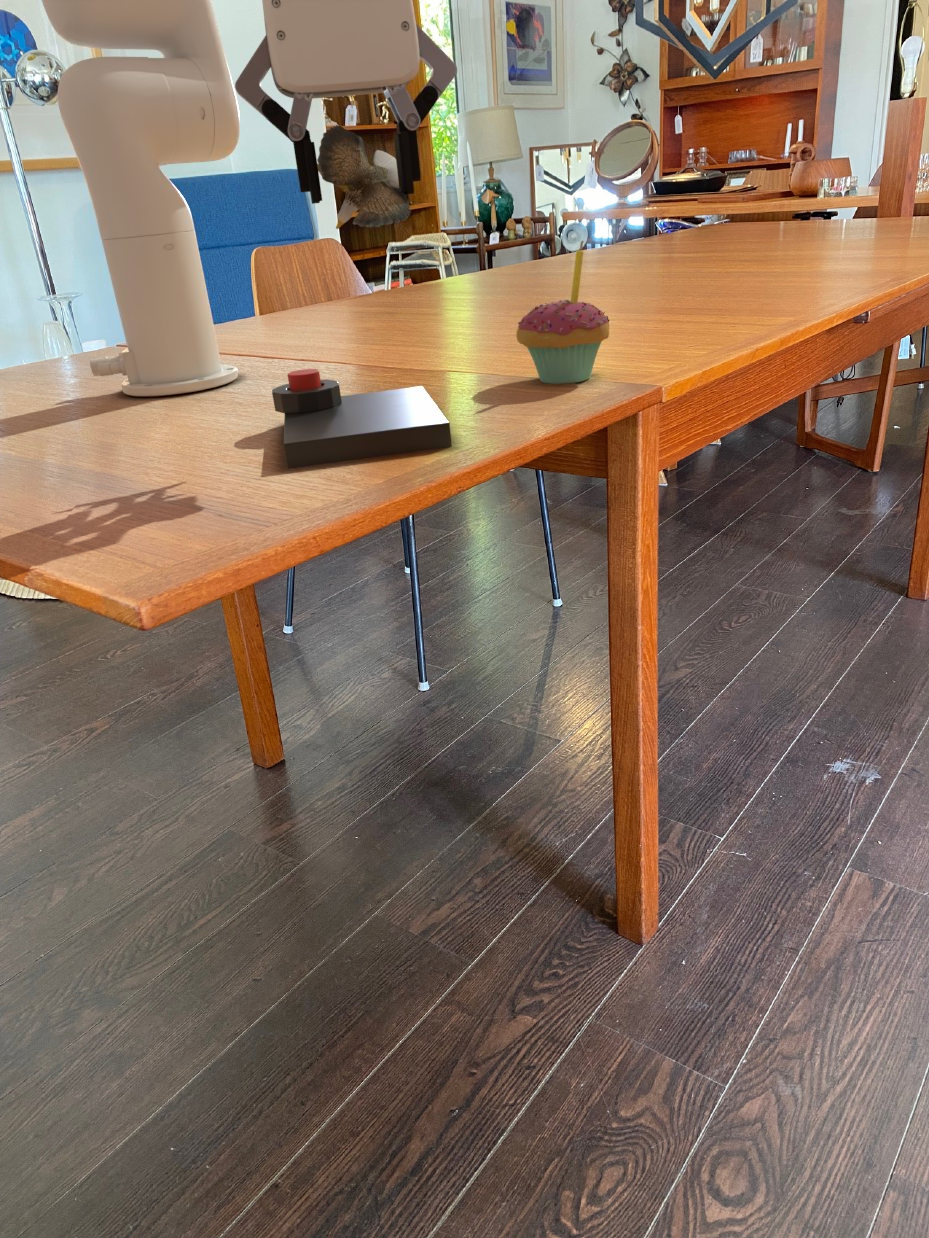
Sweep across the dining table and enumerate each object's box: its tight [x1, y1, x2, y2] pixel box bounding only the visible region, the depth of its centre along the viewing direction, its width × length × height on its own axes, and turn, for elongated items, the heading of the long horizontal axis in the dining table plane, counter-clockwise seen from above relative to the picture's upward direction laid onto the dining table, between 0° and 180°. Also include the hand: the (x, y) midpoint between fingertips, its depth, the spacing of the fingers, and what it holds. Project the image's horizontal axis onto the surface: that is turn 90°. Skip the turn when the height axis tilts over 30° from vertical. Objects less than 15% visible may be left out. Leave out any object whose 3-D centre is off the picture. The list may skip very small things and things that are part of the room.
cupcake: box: [516, 240, 610, 385], centre depth 83 cm, size 9×8×12 cm
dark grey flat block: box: [271, 379, 453, 469], centre depth 72 cm, size 13×15×4 cm
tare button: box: [286, 368, 322, 391], centre depth 75 cm, size 3×3×2 cm
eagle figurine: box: [316, 124, 412, 230], centre depth 66 cm, size 8×7×9 cm
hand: (361, 196), depth 66 cm, fingers closed on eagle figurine, 6 cm apart
